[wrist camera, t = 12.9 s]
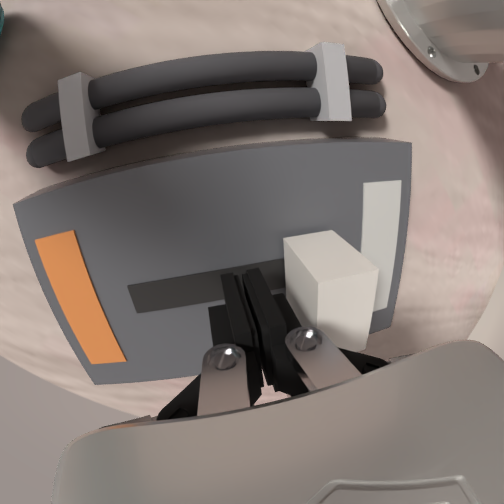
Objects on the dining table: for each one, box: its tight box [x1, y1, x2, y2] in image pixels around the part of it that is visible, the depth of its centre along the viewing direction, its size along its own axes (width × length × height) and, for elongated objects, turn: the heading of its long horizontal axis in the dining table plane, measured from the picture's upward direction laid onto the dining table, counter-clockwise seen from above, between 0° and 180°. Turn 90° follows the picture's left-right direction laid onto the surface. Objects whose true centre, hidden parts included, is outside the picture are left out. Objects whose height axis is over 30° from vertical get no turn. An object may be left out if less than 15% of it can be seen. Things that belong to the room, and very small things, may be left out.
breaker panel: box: [13, 137, 412, 385], centre depth 15 cm, size 20×12×3 cm, turn 96°
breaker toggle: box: [283, 230, 379, 352], centre depth 12 cm, size 2×4×4 cm, turn 6°
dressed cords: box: [22, 42, 386, 168], centre depth 11 cm, size 20×4×2 cm, turn 96°
